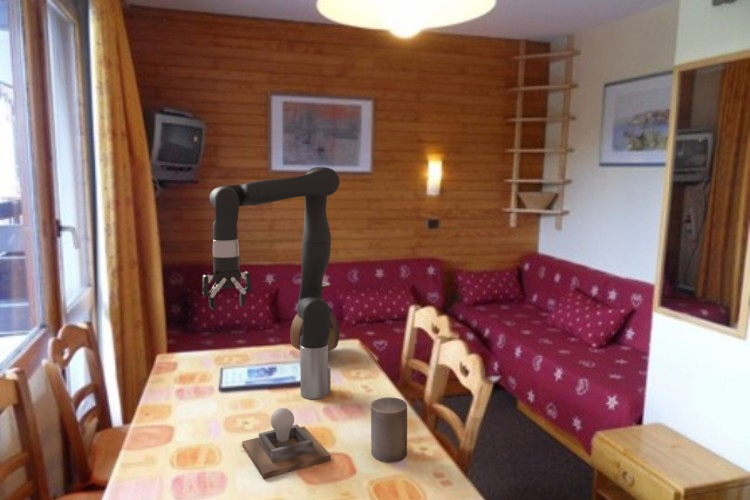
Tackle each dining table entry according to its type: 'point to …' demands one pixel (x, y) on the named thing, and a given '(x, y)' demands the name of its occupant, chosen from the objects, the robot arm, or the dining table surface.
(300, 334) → the vase
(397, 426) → the pillar candle
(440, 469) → the dining table surface
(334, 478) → the dining table surface
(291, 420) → the lightbulb
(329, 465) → the dining table surface
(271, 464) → the bulb socket
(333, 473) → the dining table surface
